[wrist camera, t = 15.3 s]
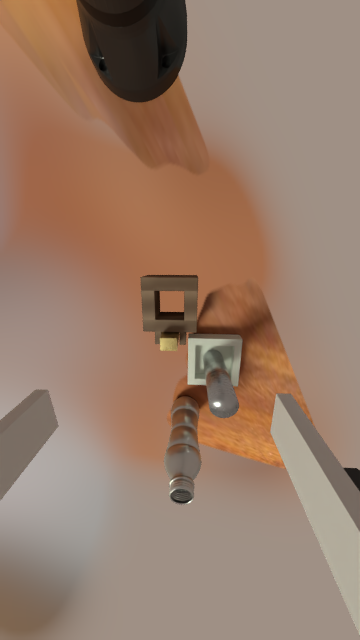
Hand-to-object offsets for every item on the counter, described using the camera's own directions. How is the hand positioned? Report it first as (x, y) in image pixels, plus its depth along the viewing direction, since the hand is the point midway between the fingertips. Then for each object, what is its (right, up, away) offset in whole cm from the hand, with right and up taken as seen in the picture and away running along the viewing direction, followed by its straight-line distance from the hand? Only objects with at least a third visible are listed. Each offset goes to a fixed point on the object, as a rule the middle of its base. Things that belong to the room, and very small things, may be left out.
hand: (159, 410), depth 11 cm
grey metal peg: (+9, -3, +32) cm, 34 cm away
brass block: (0, +3, +31) cm, 31 cm away
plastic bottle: (+3, -15, +37) cm, 40 cm away
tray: (+9, -3, +33) cm, 34 cm away
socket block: (0, +8, +30) cm, 31 cm away
